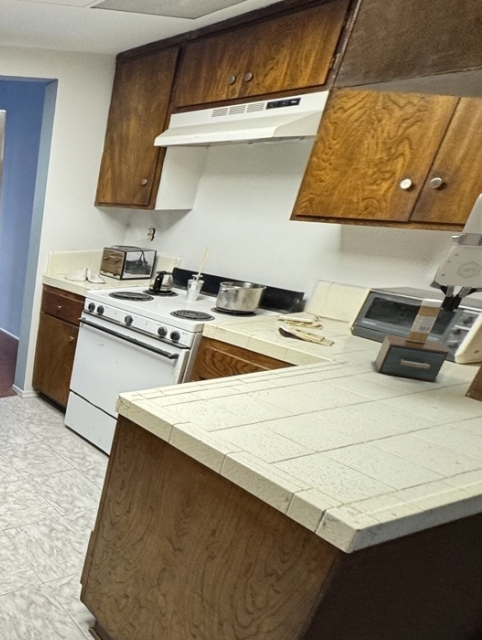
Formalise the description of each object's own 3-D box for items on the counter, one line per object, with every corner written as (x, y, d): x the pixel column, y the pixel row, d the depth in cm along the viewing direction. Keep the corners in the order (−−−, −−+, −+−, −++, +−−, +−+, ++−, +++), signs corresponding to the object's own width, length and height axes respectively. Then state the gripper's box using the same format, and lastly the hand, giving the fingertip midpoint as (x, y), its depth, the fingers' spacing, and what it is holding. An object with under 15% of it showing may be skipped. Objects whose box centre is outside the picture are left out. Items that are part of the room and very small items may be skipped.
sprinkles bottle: (425, 342, 150) (444, 300, 145) (425, 344, 147) (445, 301, 142) (405, 339, 153) (423, 297, 148) (404, 341, 150) (423, 299, 145)
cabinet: (434, 381, 143) (448, 351, 140) (377, 372, 151) (390, 343, 147) (427, 370, 154) (440, 342, 150) (374, 361, 161) (386, 335, 157)
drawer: (435, 383, 139) (447, 358, 136) (383, 374, 146) (393, 350, 143) (426, 369, 152) (437, 346, 149) (378, 361, 159) (388, 339, 156)
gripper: (440, 240, 124) (410, 309, 130) (529, 244, 115) (491, 317, 121) (435, 239, 129) (407, 305, 136) (520, 242, 120) (484, 313, 127)
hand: (447, 311), depth 129 cm, fingers closed
